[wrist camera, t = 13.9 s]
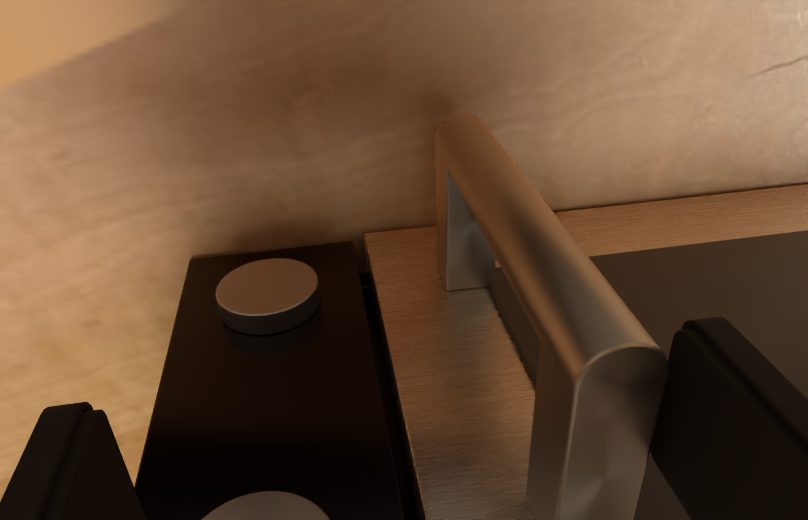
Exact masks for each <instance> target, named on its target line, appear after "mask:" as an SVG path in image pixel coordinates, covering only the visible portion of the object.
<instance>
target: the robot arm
mask: <svg viewBox="0 0 808 520" xmlns="http://www.w3.org/2000/svg"><path fill="white" fill-rule="evenodd" d="M668 367H669V373H668V378H667V382H666V387H665V391H664V395H663V399H662V403H661V407H660V411H659V416H658V420H657V424H656V428H655V432H654V436H653V440H652V445H651V449H650V451H651V455H652V458H653V460H654V462H655V464H656V465H657V467H658V469H659V470H660V472H661V473H662V475H663V476H664V478H665V480H666V481H667V483H668V484H669V486H670V487H671V489H672V491H673V492H674V494H675V495H676V497H677V498H678V500H679V502H680V503H681V505H682V506H683V508H684V509H685V511H686V513H687V514H688V516H689V517H690V519H691V520H808V399H807V398H806V397H805V396H804V395H803V394H802V393H801V392H800V391H799V390H798V389H797V388H796V387H795V386H794V385H793V384H792V383H791V382H790V381H789V380H788V379H787V378H786V377H785V376H784V375H783V374H782V373H781V372H780V371H779V370H778V369H777V368H776V367H775V366H774V365H773V364H772V363H771V362H770V361H769V360H768V359H767V358H766V357H765V356H764V355H762V354H761V353H760V352H759V351H758V350H757V349H756V348H755V347H754V346H753V345H752V344H751V343H750V342H749V341H748V340H747V339H746V338H745V337H744V336H743V335H742V334H741V333H740V332H739V331H738V330H737V329H736V328H735V327H734V326H733V325H732V324H731V323H730V322H729V321H728V320H727V319H725V318H724V317H720V316H717V317H710V318H702V319H695V320H689V321H686V322H685V323H684V324H683V326H682V328H681V330H679V331H676V332H675V334H674V336H673V340H672V344H671V349H670V353H669V358H668ZM0 520H146V517H145V514H144V512H143V509H142V507H141V504H140V501H139V499H138V496H137V494H136V491H135V488H134V486H133V483H132V481H131V478H130V476H129V473H128V470H127V468H126V465H125V463H124V460H123V457H122V455H121V452H120V450H119V447H118V444H117V442H116V439H115V437H114V434H113V432H112V429H111V426H110V424H109V421H108V419H107V416H106V414H105V412H104V411H103V410H93V408H92V406H91V405H90V404H89V403H88V402H81V403H74V404H66V405H59V406H52V407H47V408H46V409H44V410H43V412H42V413H41V415H40V417H39V419H38V421H37V424H36V426H35V428H34V430H33V432H32V434H31V437H30V439H29V441H28V443H27V445H26V447H25V450H24V452H23V454H22V456H21V458H20V460H19V463H18V465H17V467H16V469H15V471H14V473H13V476H12V478H11V480H10V482H9V484H8V486H7V489H6V491H5V493H4V495H3V497H2V499H1V502H0Z"/></svg>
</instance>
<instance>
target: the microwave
mask: <svg viewBox="0 0 808 520" xmlns="http://www.w3.org/2000/svg"><path fill="white" fill-rule="evenodd" d="M134 488H135V491H136V494H137V496H138V499H139V501H140V504H141V507H142V509H143V512H144V514H145V517H146V520H418V516H417V511H416V506H415V502H414V497H413V492H412V487H411V482H410V477H409V472H408V467H407V463H406V458H405V453H404V448H403V443H402V438H401V433H400V429H399V424H398V419H397V414H396V409H395V404H394V399H393V394H392V390H391V385H390V380H389V375H388V370H387V365H386V360H385V355H384V351H383V346H382V341H381V336H380V331H379V326H378V321H377V317H376V312H375V307H374V302H373V297H372V292H371V287H370V282H369V278H368V273H359V268H358V263H357V257H356V252H355V246H354V242H353V241H351V242H342V243H333V244H324V245H315V246H306V247H297V248H288V249H279V250H271V251H262V252H253V253H244V254H235V255H226V256H217V257H208V258H199V259H191V260H190V261H189V265H188V270H187V274H186V278H185V282H184V286H183V290H182V294H181V298H180V302H179V306H178V310H177V315H176V319H175V323H174V327H173V331H172V335H171V339H170V343H169V347H168V351H167V356H166V360H165V364H164V368H163V372H162V376H161V380H160V384H159V388H158V392H157V396H156V401H155V405H154V409H153V413H152V417H151V421H150V425H149V429H148V433H147V437H146V442H145V446H144V450H143V454H142V458H141V462H140V466H139V470H138V474H137V478H136V482H135V487H134Z"/></svg>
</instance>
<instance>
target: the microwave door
mask: <svg viewBox="0 0 808 520" xmlns="http://www.w3.org/2000/svg"><path fill="white" fill-rule="evenodd" d="M435 143H436V144H435V149H436V226H429V227H420V228H411V229H402V230H393V231H384V232H375V233H366V234H364V243H365V255H366V267H367V273H368V278H369V282H370V287H371V292H372V297H373V302H374V307H375V312H376V317H377V321H378V326H379V331H380V336H381V341H382V346H383V351H384V355H385V360H386V365H387V370H388V375H389V380H390V385H391V390H392V394H393V399H394V404H395V409H396V414H397V419H398V424H399V429H400V433H401V438H402V443H403V448H404V453H405V458H406V463H407V467H408V472H409V477H410V482H411V487H412V492H413V497H414V502H415V506H416V511H417V516H418V520H691V519H690V517H689V516H688V514H687V513H686V511H685V509H684V508H683V506H682V505H681V503H680V502H679V500H678V498H677V497H676V495H675V494H674V492H673V491H672V489H671V487H670V486H669V484H668V483H667V481H666V480H665V478H664V476H663V475H662V473H661V472H660V470H659V469H658V467H657V465H656V464H655V462H654V460H653V458H652V455H651V451H650V449H651V445H652V440H653V436H654V432H655V428H656V424H657V420H658V416H659V411H660V407H661V403H662V399H663V395H664V391H665V387H666V382H667V378H668V373H669V367H668V358H669V353H670V349H671V344H672V340H673V336H674V334H675V332H676V331H679V330H681V328H682V326H683V324H684V323H685V322H686V321H689V320H695V319H702V318H710V317H717V316H720V317H724V318H725V319H727V320H728V321H729V322H730V323H731V324H732V325H733V326H734V327H735V328H736V329H737V330H738V331H739V332H740V333H741V334H742V335H743V336H744V337H745V338H746V339H747V340H748V341H749V342H750V343H751V344H752V345H753V346H754V347H755V348H756V349H757V350H758V351H759V352H760V353H761V354H762V355H764V356H765V357H766V358H767V359H768V360H769V361H770V362H771V363H772V364H773V365H774V366H775V367H776V368H777V369H778V370H779V371H780V372H781V373H782V374H783V375H784V376H785V377H786V378H787V379H788V380H789V381H790V382H791V383H792V384H793V385H794V386H795V387H796V388H797V389H798V390H799V391H800V392H801V393H802V394H803V395H804V396H805V397H806V398H807V399H808V184H806V185H797V186H788V187H779V188H770V189H761V190H752V191H743V192H734V193H725V194H716V195H707V196H698V197H689V198H680V199H671V200H662V201H653V202H644V203H635V204H626V205H617V206H608V207H599V208H590V209H581V210H572V211H563V212H554V213H553V211H552V210H551V209H550V207H549V206H548V205H547V204H546V202H545V201H544V200H543V199H542V197H541V196H540V195H539V193H538V192H537V191H536V190H535V188H534V187H533V186H532V185H531V183H530V182H529V181H528V179H527V178H526V177H525V176H524V174H523V173H522V172H521V171H520V169H519V168H518V167H517V165H516V164H515V163H514V162H513V160H512V159H511V158H510V157H509V155H508V154H507V153H506V151H505V150H504V149H503V148H502V146H501V145H500V144H499V143H498V141H497V140H496V139H495V137H494V136H493V135H492V134H491V132H490V131H489V130H488V129H487V127H486V126H485V125H484V123H483V122H482V121H481V120H480V119H479V118H478V117H476V116H474V115H472V114H467V113H461V114H456V115H453V116H451V117H449V118H448V119H446V120H445V121H444V122H443V123H442V124H441V126H440V127H439V129H438V131H437V134H436V140H435Z"/></svg>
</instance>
